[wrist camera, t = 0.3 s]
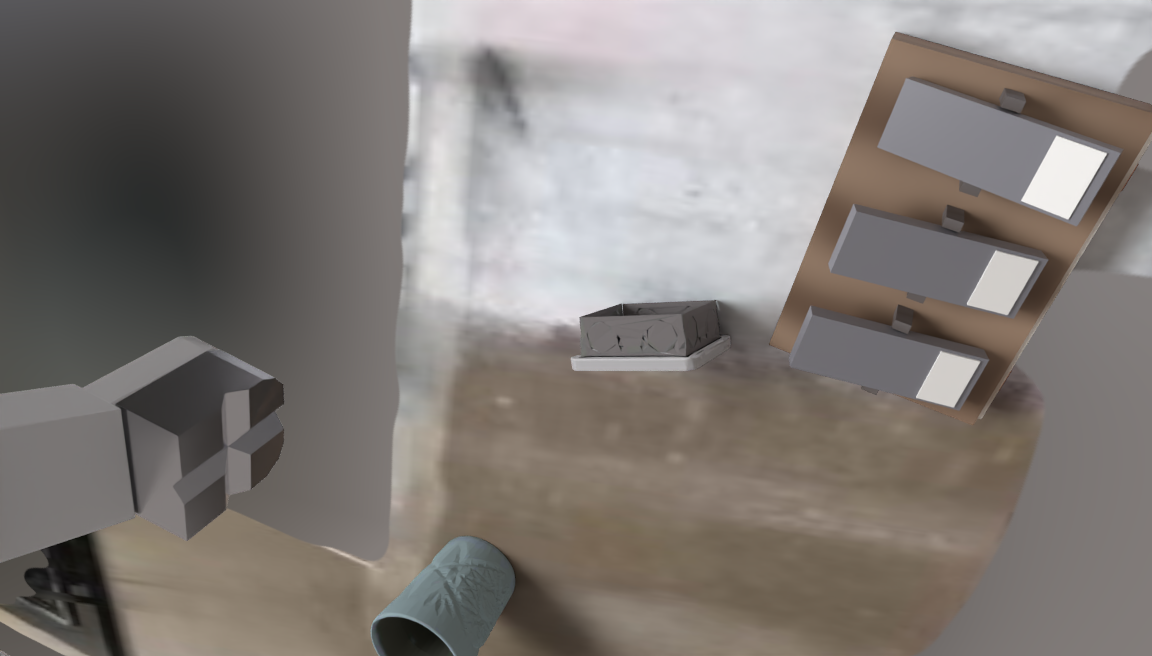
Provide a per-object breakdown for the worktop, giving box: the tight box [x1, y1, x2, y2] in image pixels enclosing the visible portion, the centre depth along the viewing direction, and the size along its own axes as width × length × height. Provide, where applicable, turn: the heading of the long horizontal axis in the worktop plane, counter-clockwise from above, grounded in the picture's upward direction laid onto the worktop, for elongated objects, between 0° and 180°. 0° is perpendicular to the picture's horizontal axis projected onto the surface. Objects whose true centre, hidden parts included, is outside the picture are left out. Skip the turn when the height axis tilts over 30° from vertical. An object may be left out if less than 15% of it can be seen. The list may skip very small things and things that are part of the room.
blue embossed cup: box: [371, 536, 515, 656], centre depth 79 cm, size 10×10×12 cm
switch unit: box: [769, 32, 1152, 425], centre depth 48 cm, size 21×14×5 cm
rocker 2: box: [877, 76, 1124, 226], centre depth 43 cm, size 4×11×1 cm, turn 77°
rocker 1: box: [789, 306, 989, 411], centre depth 50 cm, size 4×11×1 cm, turn 77°
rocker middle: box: [828, 204, 1048, 319], centre depth 46 cm, size 4×11×1 cm, turn 77°
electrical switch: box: [571, 300, 730, 371], centre depth 58 cm, size 9×5×9 cm, turn 103°
